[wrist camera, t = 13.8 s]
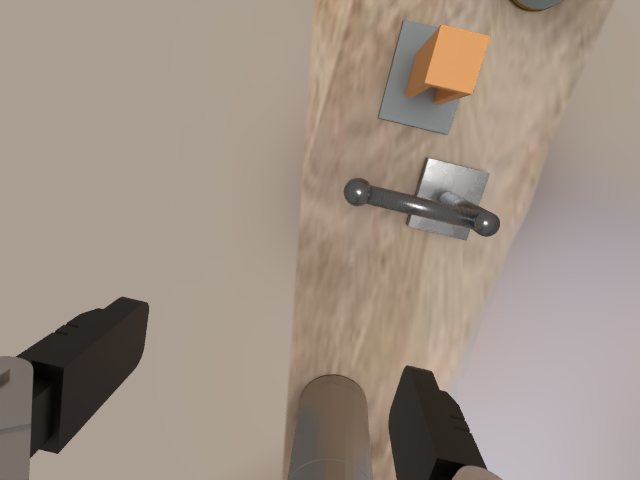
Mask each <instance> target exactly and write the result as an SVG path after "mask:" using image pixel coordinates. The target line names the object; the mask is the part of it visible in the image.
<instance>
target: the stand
mask: <svg viewBox="0 0 640 480" xmlns="http://www.w3.org/2000/svg"><path fill="white" fill-rule="evenodd" d="M489 175H490V173H487V172H483V171H479V170H475V169H471V168H466V167H462V166H458V165H454V164H450V163H446V162H442V161H437V160H433V159H429V158H426V160H425V163H424V166H423V170H422V173H421V176H420V180H419V183H418V186H417V190H416V193H415V196H413V195H409V194H404V193H400V192H396V191H392V190H388V189H384V188H380V187H375V186H371V185H370V184H369V182H368V181H366V180H365V179H362V178H354V179H352V180H350V181H349V182H348V183H347V184H346V186H345V188H344V196H345V199H346V200H347V202H348V203H350V204H351V205H353V206H362V205H365V204H369V205H373V206H377V207H382V208H386V209H390V210H394V211H398V212H402V213H407V214H409V216H408V220H407V223H406V224H407V225H408V227H412V228H417V229H421V230H425V231H429V232H433V233H437V234H441V235H446V236H450V237H454V238H458V239H462V240H467V238H468V235H469V232H470V229H473V230H474V231H475V232H477V233H478V234H480V235H481V236H486V237H487V236H491V235H493V234H495V233H496V232H497V231H498V229H499V227H500V220H499V218H498V217H497V216H496V215H495V214H493V213H491V212H489V211H487V210H485V209H483V208H481V207H479V203H480V200H481V197H482V195H483V192H484V189H485V186H486V183H487V180H488V177H489Z"/></svg>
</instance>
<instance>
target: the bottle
mask: <svg viewBox="0 0 640 480" xmlns="http://www.w3.org/2000/svg"><path fill="white" fill-rule="evenodd" d="M513 1H514V2H515V3H516V4H517V5H518V6H520V7H522V8H524V9H527V10H531V11H539V10H544V9H547V8H550V7H552V6H554V5H556V4H558V3H559V2H561V1H563V0H513Z"/></svg>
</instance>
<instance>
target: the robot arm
mask: <svg viewBox="0 0 640 480" xmlns="http://www.w3.org/2000/svg"><path fill="white" fill-rule="evenodd" d="M148 314H149V305H148V303H147V302H143V301H139V300H134V299H130V298H126V297H120V298H119V299H117V300H116V301H114V302H113V303H112V304H110V305H109V306H107V307H106V308H104V309H99V308H98V309H95V310H91V311H88V312H85V313H82V314H80V315H78V316H77V317H75V318H74V319H72V320H71V321H69V322H68V323H67V324H66V325H63V326H62V327H60V328H59V329H57V330H56V331H55V333H51V334H49V335H48V336H46V337H45V338H43V339H42V340H40V341H39V342H37V343H36V344H34V345H33V346H31V347H30V348H28V349H27V350H25V351H24V352H22V353H21V354H19V355H18V356H16V357H10V356H1V357H0V480H29V465H30V458H31V457H32V456H33V455H34V454H35V453H36V451H38V450H39V449H40V450H44V451H48V452H53V453H57V454H58V453H59V452H60V451H61V450H62V449H63V448H64V446H66V444H67V443H68V442H69V441H70V440H71V439H72V438H73V437H74V435H76V433H77V432H78V431H79V430H80V429H81V428H82V427H83V426H84V425H85V423H86V422H87V421H88V420H89V419H90V418H91V416H93V415H94V413H95V412H96V411H97V410H98V409H99V408H100V407H101V406H102V405H103V403H104V402H105V401H106V400H107V399H108V398H109V397H110V396H111V395H112V394H113V392H114V391H115V390H116V389H117V388H118V387H119V386H120V385H121V384H122V383H123V381H124V380H125V379H126V378H127V377H128V376H129V375H130V374H131V373H132V372H133V370H134V369H135V368H136V367H137V365H138V363H139V361H140V359H141V357H142V354H143V350H144V345H145V337H146V329H147V322H148ZM389 435H390V441H391V447H392V453H393V459H394V465H395V471H396V477H397V480H502V479H501V478H499V477H498V476H497V475H495V474H494V473H492V472H490V471H488V470H487V468H486V465H485V463H484V461H483V459H482V456H481V454H480V452H479V450H478V447H477V445H476V443H475V441H474V438H473V436H472V434H471V433H470V429H469V427H468V425H467V423H466V421H465V418H464V416H463V414H462V412H461V410H460V407H459V405H458V404H457V403H456V402H455V401H454V399H453V398H452V397H451V396H450V395H449V394H448V393H447V392H445V391H441V390H439V387H438V385H437V382H436V380H435V377H434V375H433V373H432V371H429V370H425V369H421V368H416V367H412V366H406V367H405V368H404V370H403V373H402V376H401V379H400V382H399V385H398V388H397V391H396V394H395V397H394V400H393V403H392V406H391V409H390V414H389ZM287 480H373V473H372V461H371V449H370V437H369V425H368V412H367V402H366V397H365V395H364V392H363V391H362V389H361V388H360V387H359V386H358V385H357V384H356V383H355V382H353V381H352V380H350V379H348V378H345V377H342V376H336V375H329V376H323V377H320V378H318V379H315V380H314V381H312V382H311V383H309V384H308V386H307V387H306V388H305V389H304V391H303V393H302V396H301V401H300V407H299V413H298V418H297V424H296V430H295V437H294V443H293V449H292V455H291V461H290V467H289V473H288V479H287Z"/></svg>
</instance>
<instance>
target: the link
mask: <svg viewBox="0 0 640 480" xmlns="http://www.w3.org/2000/svg"><path fill="white" fill-rule="evenodd" d="M489 39H490V36H487V35H483V34H479V33H475V32H471V31H467V30H462V29H458V28H454V27H450V26H446V25H442V24H441V25H440V26H439V28H438V29H437V30H436V31H435V32H434V33H433V34H432V36H431V37H430V38H429V39H428V40H427V41H426V43H425V44H424V45H423V46H422V47H421V48H420V49H419V51H418V52H417V53H416V55H415V59H414V63H413V66H412V70H411V74H410V77H409V81H408V85H407V88H406V92H405V96H406V97H410V98H412V97H414V96H416V95H417V94H419V93H421V92H423V91H425V90H426V89H428V88H430V87H435V88H437V90H436V94H435V97H434V101H433V103H435V104H439V105H441V104H444V103H447V102H450V101H453V100H456V99H459V98H462V97H465V96H468V95H471V94H472V93H473V90H474V87H475V83H476V80H477V77H478V74H479V71H480V68H481V65H482V61H483V58H484V55H485V52H486V49H487V46H488V43H489Z"/></svg>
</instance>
